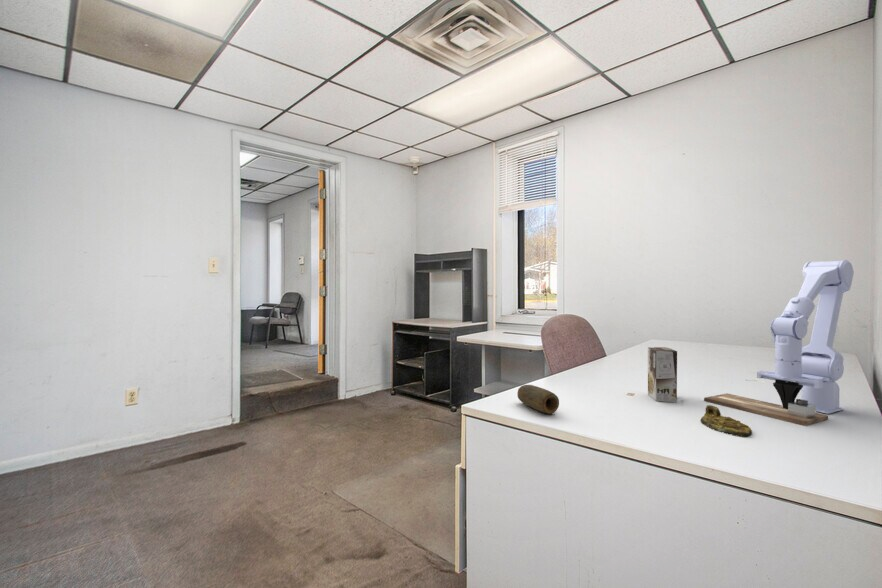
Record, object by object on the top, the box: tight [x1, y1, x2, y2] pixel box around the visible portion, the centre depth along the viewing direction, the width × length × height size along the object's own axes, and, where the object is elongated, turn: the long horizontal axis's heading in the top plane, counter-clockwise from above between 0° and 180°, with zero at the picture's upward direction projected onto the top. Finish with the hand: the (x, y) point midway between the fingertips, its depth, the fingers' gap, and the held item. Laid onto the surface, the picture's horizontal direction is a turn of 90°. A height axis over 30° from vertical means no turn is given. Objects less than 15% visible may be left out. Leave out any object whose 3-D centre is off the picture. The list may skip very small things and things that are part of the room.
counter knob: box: [788, 398, 817, 418], centre depth 112 cm, size 5×4×4 cm
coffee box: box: [647, 346, 678, 403], centre depth 133 cm, size 9×6×16 cm
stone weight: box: [516, 384, 560, 415], centre depth 122 cm, size 15×7×7 cm, turn 24°
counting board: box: [703, 393, 829, 426], centre depth 120 cm, size 12×26×1 cm, turn 25°
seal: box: [700, 404, 753, 438], centre depth 106 cm, size 9×5×15 cm
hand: (787, 408), depth 115 cm, fingers closed
